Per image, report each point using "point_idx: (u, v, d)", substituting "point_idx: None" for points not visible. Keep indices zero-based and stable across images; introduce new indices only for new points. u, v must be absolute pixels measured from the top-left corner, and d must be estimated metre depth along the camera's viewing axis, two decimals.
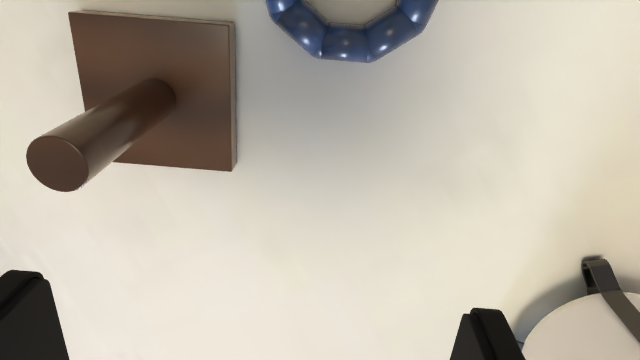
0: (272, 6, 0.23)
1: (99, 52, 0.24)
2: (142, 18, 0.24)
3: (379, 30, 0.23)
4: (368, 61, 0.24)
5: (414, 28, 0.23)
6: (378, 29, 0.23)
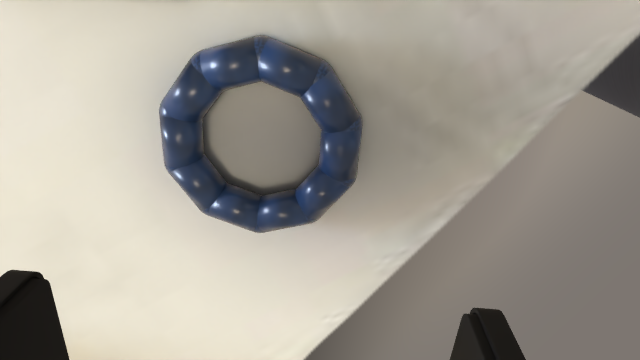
0: (207, 59, 0.19)
1: None
2: None
3: (196, 177, 0.22)
4: None
5: (203, 209, 0.22)
6: (197, 175, 0.22)
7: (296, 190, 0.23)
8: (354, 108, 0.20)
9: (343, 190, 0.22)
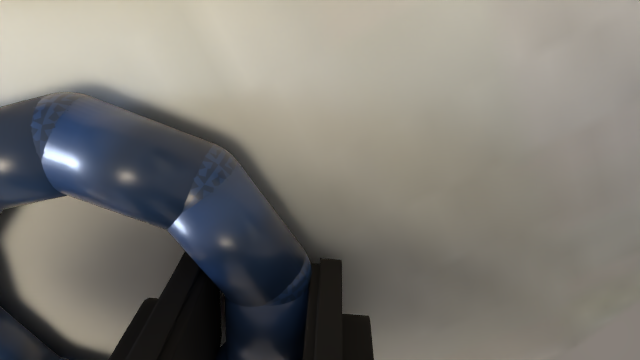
0: None
1: None
2: None
3: None
4: None
5: None
6: None
7: None
8: (291, 249, 0.09)
9: None
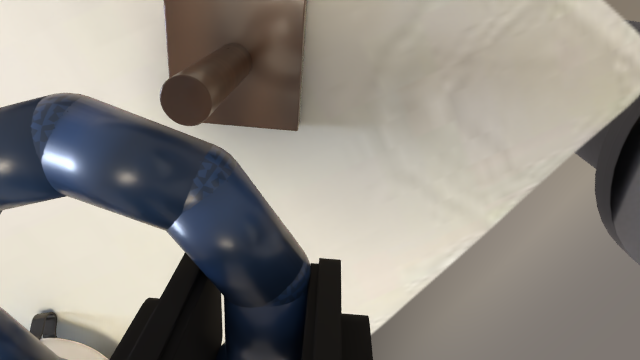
0: None
1: (271, 16, 0.27)
2: (301, 62, 0.28)
3: None
4: None
5: None
6: None
7: None
8: (291, 250, 0.09)
9: None
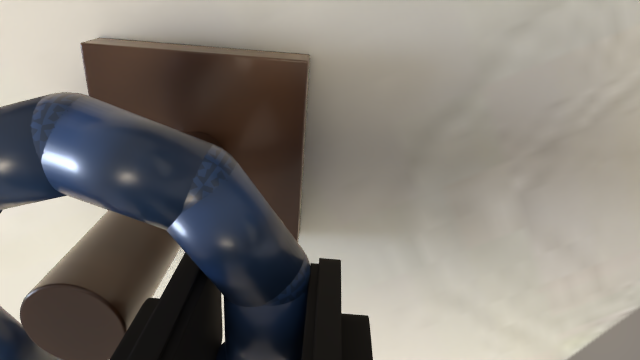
0: None
1: (254, 93, 0.17)
2: (301, 157, 0.19)
3: None
4: None
5: None
6: None
7: None
8: (290, 250, 0.09)
9: None
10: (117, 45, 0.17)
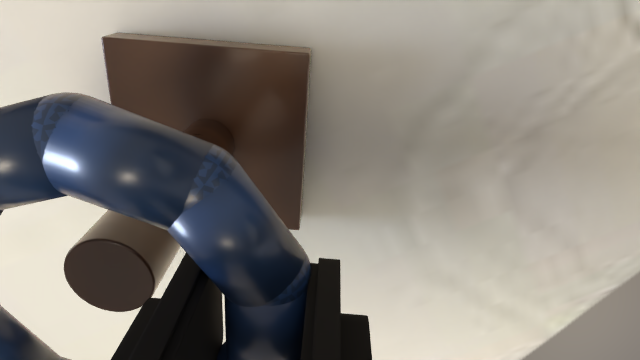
0: None
1: (261, 83, 0.19)
2: (303, 143, 0.20)
3: None
4: None
5: None
6: None
7: None
8: (291, 250, 0.09)
9: None
10: (135, 39, 0.18)
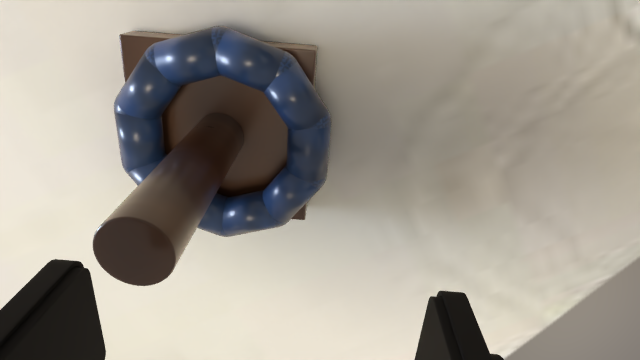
0: (162, 52, 0.18)
1: None
2: None
3: None
4: (122, 164, 0.20)
5: None
6: None
7: (263, 191, 0.21)
8: (321, 104, 0.19)
9: (312, 191, 0.20)
10: (151, 36, 0.19)
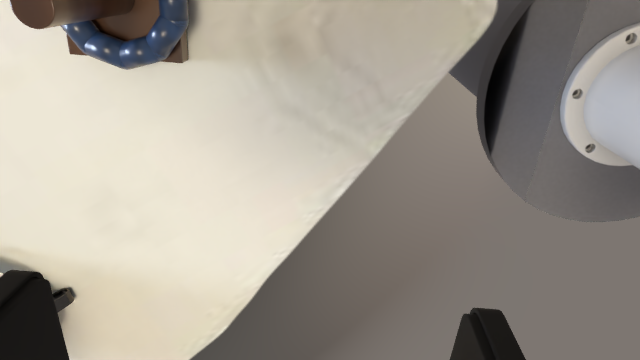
0: None
1: None
2: None
3: None
4: None
5: (81, 47, 0.32)
6: None
7: (147, 34, 0.32)
8: None
9: (176, 30, 0.31)
10: None
